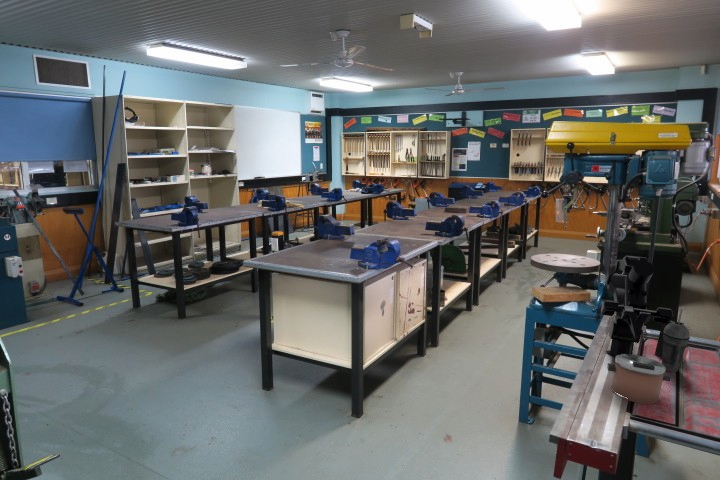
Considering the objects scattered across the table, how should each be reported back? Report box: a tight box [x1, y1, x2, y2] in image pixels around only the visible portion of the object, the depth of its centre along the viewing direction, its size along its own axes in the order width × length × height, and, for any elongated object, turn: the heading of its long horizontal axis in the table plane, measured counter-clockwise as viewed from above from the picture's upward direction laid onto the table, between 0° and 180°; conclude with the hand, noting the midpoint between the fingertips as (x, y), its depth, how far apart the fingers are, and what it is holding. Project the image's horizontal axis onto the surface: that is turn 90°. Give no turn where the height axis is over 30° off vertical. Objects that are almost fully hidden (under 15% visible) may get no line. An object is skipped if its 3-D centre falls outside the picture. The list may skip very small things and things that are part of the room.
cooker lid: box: [614, 354, 667, 375], centre depth 135 cm, size 12×12×2 cm
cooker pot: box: [606, 362, 672, 405], centre depth 137 cm, size 13×16×8 cm
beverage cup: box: [661, 308, 691, 373], centre depth 151 cm, size 7×7×20 cm
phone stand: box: [654, 319, 685, 358], centre depth 163 cm, size 9×6×12 cm, turn 138°
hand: (636, 337), depth 143 cm, fingers closed
